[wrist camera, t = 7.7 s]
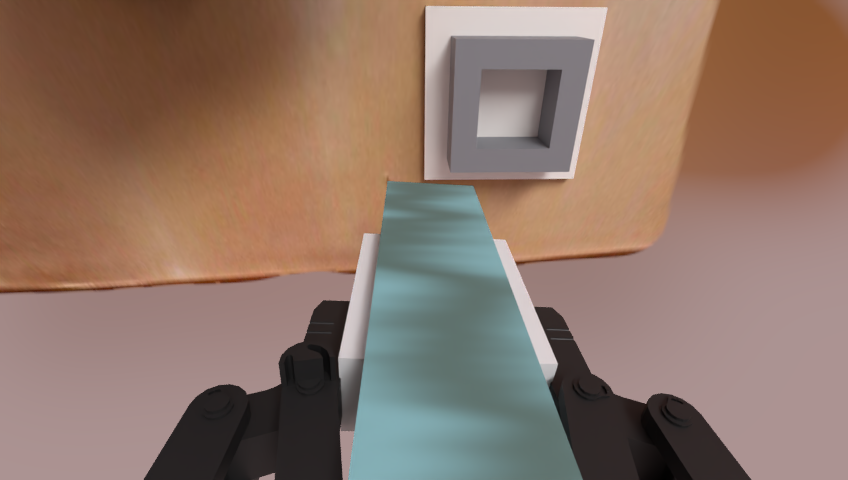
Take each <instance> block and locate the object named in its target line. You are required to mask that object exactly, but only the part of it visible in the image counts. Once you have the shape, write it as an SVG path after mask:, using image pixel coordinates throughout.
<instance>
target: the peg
mask: <svg viewBox="0 0 848 480" xmlns="http://www.w3.org/2000/svg"><path fill="white" fill-rule="evenodd" d="M348 480H583V479H582V476H581V473H580V471H579V468H578V465H577V463H576V460H575V457H574V455H573V452H572V449H571V447H570V444H569V441H568V439H567V436H566V433H565V431H564V428H563V425H562V422H561V420H560V417H559V414H558V412H557V409H556V406H555V404H554V401H553V398H552V396H551V393H550V390H549V388H548V385H547V382H546V380H545V377H544V374H543V372H542V369H541V366H540V364H539V361H538V358H537V355H536V353H535V350H534V347H533V345H532V342H531V339H530V337H529V334H528V331H527V329H526V326H525V323H524V321H523V318H522V315H521V313H520V310H519V307H518V305H517V302H516V299H515V297H514V294H513V291H512V288H511V286H510V283H509V280H508V278H507V275H506V272H505V270H504V267H503V264H502V262H501V259H500V256H499V254H498V251H497V248H496V246H495V243H494V240H493V238H492V235H491V232H490V229H489V227H488V224H487V221H486V219H485V216H484V213H483V211H482V208H481V205H480V203H479V200H478V197H477V195H476V192H475V189H474V187H473V186H467V185H449V184H430V183H411V182H393V181H388V183H387V191H386V198H385V206H384V213H383V221H382V228H381V236H380V243H379V251H378V259H377V266H376V274H375V281H374V289H373V296H372V304H371V311H370V319H369V327H368V334H367V342H366V349H365V357H364V364H363V372H362V379H361V387H360V395H359V402H358V410H357V417H356V425H355V433H354V440H353V448H352V455H351V463H350V470H349V478H348Z"/></svg>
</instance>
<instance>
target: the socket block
mask: <svg viewBox="0 0 848 480" xmlns="http://www.w3.org/2000/svg"><path fill="white" fill-rule="evenodd" d="M607 9H608V8H606V7H487V6H425V124H424V180H474V179H573V178H574V173H575V168H576V163H577V158H578V153H579V148H580V143H581V138H582V133H583V128H584V123H585V118H586V113H587V108H588V103H589V98H590V93H591V88H592V83H593V78H594V73H595V68H596V63H597V58H598V54H599V49H600V44H601V39H602V34H603V29H604V24H605V19H606V14H607Z"/></svg>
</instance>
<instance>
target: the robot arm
mask: <svg viewBox="0 0 848 480" xmlns="http://www.w3.org/2000/svg"><path fill="white" fill-rule="evenodd" d="M380 236H381V234H369V233H364V237H363V242H362V246H361V251H360V256H359V261H358V266H357V270H356V275H355V280H354V285H353V290H352V295H351V299H350V301H326V300H325V301H322V302H321V303H320V304H319V305H318V307H316V308H315V309H314V311H313V315H312V317H311V320H310V324H309V327H308V330H307V333H306V336H305V339H304V342H302V343H298V344H296V345H294V346H292V347H290V348H288V349H287V350H286V351H285V352H284V354H282V356H281V358H280V361H279V369H280V377H281V384H280V385H278V386H276V387H274V388H271V389H269V390H265V391H261V392H257V393H253V394H248V395H247V394H246V392H245V391H244V390H243V389H242V388H240V387H239V386H234V385H230V384H229V385H218V386H216V387H213V388H210V389H207V390H206V391H204V392H203V393H201V394H200V395H198V396H197V397H196V398H195V399H194V400H193V401H192V402H191V404H190V405H189V406H188V408H187V410H186V411H185V413H184V414H183V416H182V418H181V420H180V421H179V423H178V424H177V426H176V428H175V429H174V431H173V432H172V434H171V436H170V437H169V439H168V441H167V442H166V444H165V446H164V447H163V449H162V450H161V452H160V454H159V455H158V457H157V459H156V460H155V462H154V463H153V465H152V467H151V468H150V470H149V472H148V473H147V475H146V477H145V478H144V480H259V477H262V476H265V475H268V474H272V473H275V480H343V478H342V464H341V447H340V427H341V431H355V425H356V417H357V410H358V402H359V395H360V387H361V379H362V372H363V364H364V357H365V349H366V342H367V334H368V327H369V319H370V311H371V304H372V296H373V289H374V281H375V274H376V266H377V259H378V251H379V243H380ZM493 240H494V243H495V246H496V248H497V251H498V254H499V256H500V259H501V262H502V264H503V267H504V270H505V272H506V275H507V278H508V280H509V283H510V286H511V288H512V291H513V294H514V297H515V299H516V302H517V305H518V307H519V310H520V313H521V315H522V318H523V321H524V323H525V326H526V329H527V331H528V334H529V337H530V339H531V342H532V345H533V347H534V350H535V353H536V355H537V358H538V361H539V364H540V366H541V369H542V372H543V374H544V377H545V380H546V382H547V385H548V388H549V390H550V393H551V396H552V398H553V401H554V404H555V406H556V409H557V412H558V414H559V417H560V420H561V422H562V425H563V428H564V431H565V433H566V436H567V439H568V441H569V444H570V447H571V449H572V452H573V455H574V457H575V460H576V463H577V465H578V468H579V471H580V473H581V476H582V479H583V480H751V479H750V477H749V476H748V475H747V474H746V472H745V471H744V470H743V468H742V467H741V466H740V464H739V463H738V462H737V461H736V459H735V458H734V457H733V455H732V454H731V453H730V452H729V450H728V449H727V448H726V446H725V445H724V444H723V442H722V441H721V440H720V438H719V437H718V436H717V435H716V433H715V432H714V431H713V430H712V428H711V427H710V426H709V424H708V423H707V422H706V420H705V419H704V418H703V416H702V415H701V414H700V413H699V412H698V411H697V410H696V409H695V408H694V407H693V406H692V405H690V404H689V403H687V402H686V401H684V400H683V399H681V398H678V397H676V396H673V395H669V394H662V393H661V394H655V395H653V396H651V398H649V399H648V401H647V404H645V403H641V402H637V401H634V400H630V399H627V398H623V397H621V396H618V395H615V394H613V392H612V390H611V388H610V387H609V386H608V385H607V384H606V383H605V382H604V381H603V380H602V379H600V378H598V377H597V376H595V375H593V374H591V372H590V370H589V368H588V366H587V364H586V362H585V360H584V358H583V356H582V354H581V352H580V350H579V348H578V346H577V344H576V342H575V341H574V340H573V336H572V334H571V333H570V331H569V328H568V326H567V325H566V322H565V320H564V319H563V317H562V316H561V315H560V314H559V313H557V312H556V311H555V310H554V309H553V308H549V307H548V308H546V307H534V306H533V304H532V302H531V299H530V297H529V295H528V292H527V290H526V287H525V285H524V283H523V280H522V278H521V276H520V273H519V271H518V269H517V266H516V264H515V262H514V259H513V257H512V254H511V252H510V250H509V247H508V245H507V243H506V240H501V239H493Z"/></svg>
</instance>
